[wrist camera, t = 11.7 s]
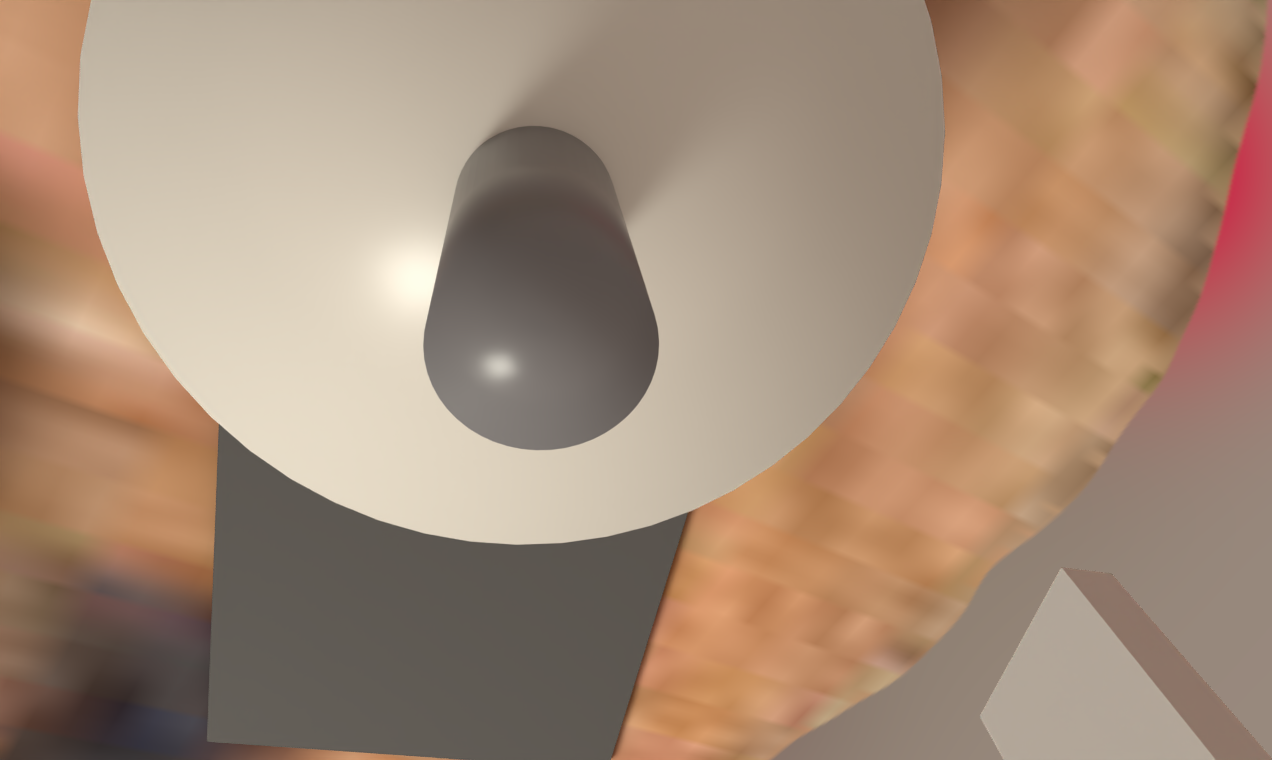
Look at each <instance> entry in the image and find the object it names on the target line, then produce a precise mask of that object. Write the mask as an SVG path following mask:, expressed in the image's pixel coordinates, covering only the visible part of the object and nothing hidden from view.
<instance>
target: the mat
mask: <svg viewBox="0 0 1272 760" xmlns="http://www.w3.org/2000/svg"><path fill="white" fill-rule="evenodd" d="M687 514H688V512H687V513H684V514H681V515H679V516H676V517H673V518H670V519H668V520H665V521H662V522H659V523H657V524H654V525H651V526H648V527H644V528H640V529H636V530H632V531H628V532H624V533H620V534H616V535H612V536H608V537H601V538H594V539H587V540H580V541H573V542H566V543H549V544H521V545H514V544H499V543H485V542H470V541H465V540H459V539H453V538H447V537H442V536H436V535H430V534H425V533H421V532H418V531H414V530H411V529H407V528H404V527H400V526H397V525H393V524H390V523H386V522H383V521H379V520H377V519H374V518H372V517H369V516H367V515H364V514H362V513H359V512H357V511H354V510H352V509H349V508H347V507H345V506H342V505H340V504H337V503H335V502H333V501H331V500H329V499H327V498H325V497H323V496H322V495H320V494H318V493H316V492H314V491H312V490H310V489H309V488H307V487H305V486H303V485H301V484H299V483H297V482H296V481H294V480H292V479H290V478H289V477H287V476H286V475H284V474H283V473H281V472H280V471H279V470H277V469H276V468H274V467H273V466H271V465H270V464H268V463H267V462H266V461H264V460H263V459H261V458H260V457H258V456H257V455H255V454H254V453H252V452H251V451H250V450H248V449H247V448H246V447H245V446H244V445H243V444H242V443H240V442H239V441H238V440H237V439H236V438H235V437H233V436H232V435H231V434H230V433H229V432H228V431H227V430H225V429H224V428H223V427H222V426H221V425H220V424H219V437H218V463H217V490H216V516H215V543H214V569H213V595H212V622H211V648H210V675H209V701H208V728H207V742H220V743H234V744H249V745H263V746H277V747H292V748H306V749H320V750H334V751H349V752H363V753H377V754H392V755H406V756H420V757H435V758H449V759H463V760H611V757H612V754H613V751H614V748H615V744H616V741H617V738H618V735H619V732H620V728H621V725H622V722H623V719H624V716H625V712H626V709H627V706H628V703H629V700H630V696H631V693H632V690H633V687H634V684H635V680H636V677H637V674H638V671H639V668H640V664H641V661H642V658H643V655H644V652H645V648H646V645H647V642H648V639H649V636H650V632H651V629H652V626H653V623H654V620H655V616H656V613H657V610H658V607H659V604H660V600H661V597H662V594H663V591H664V588H665V584H666V581H667V578H668V575H669V572H670V568H671V565H672V562H673V559H674V556H675V552H676V549H677V546H678V543H679V540H680V536H681V533H682V530H683V527H684V524H685V520H686V517H687Z"/></svg>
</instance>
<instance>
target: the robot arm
mask: <svg viewBox="0 0 1272 760" xmlns="http://www.w3.org/2000/svg"><path fill="white" fill-rule="evenodd" d="M980 718H981V720H982V722H983V723H984V725H985V727H986V729H987V731H988V732H989V734H990V736H991V738H992V740H993V741H994V743H995V745H996V747H997V748H998V750H999V752H1000V754H1001V756H1002V758H1003V759H1004V760H1272V758H1271V757H1270V756H1269V755H1268V753H1267V752H1266V751H1265V750H1264V749H1263V748H1262V747H1261V745H1260V744H1259V743H1258V742H1257V741H1256V740H1255V738H1254V737H1253V736H1252V735H1251V734H1250V733H1249V732H1248V730H1247V729H1246V728H1245V727H1244V726H1243V725H1242V723H1241V722H1240V721H1239V720H1238V719H1237V718H1236V717H1235V715H1234V714H1233V713H1232V712H1231V711H1230V710H1229V708H1227V706H1226V705H1225V704H1224V703H1223V702H1222V700H1221V699H1220V698H1219V697H1218V696H1217V695H1216V693H1215V692H1214V691H1213V690H1212V689H1211V688H1210V687H1209V685H1208V684H1207V683H1206V682H1205V681H1204V680H1203V678H1202V677H1201V676H1200V675H1199V674H1198V673H1197V672H1196V670H1195V669H1194V668H1193V667H1192V666H1191V665H1190V663H1189V662H1188V661H1187V660H1186V659H1185V658H1184V657H1183V655H1182V654H1181V653H1180V652H1179V651H1178V650H1177V649H1176V647H1175V646H1174V645H1173V644H1172V643H1171V642H1170V641H1169V639H1168V638H1167V637H1166V636H1165V635H1164V633H1163V632H1162V631H1161V630H1160V629H1159V628H1158V627H1157V625H1156V624H1155V623H1154V622H1153V621H1152V620H1151V619H1150V617H1149V616H1148V615H1147V614H1146V613H1145V612H1144V611H1143V609H1142V608H1141V607H1140V606H1139V605H1138V604H1137V602H1136V601H1135V600H1134V599H1133V598H1132V597H1131V595H1130V594H1129V593H1128V592H1127V591H1126V590H1125V589H1124V587H1123V586H1122V585H1121V584H1120V583H1119V582H1118V580H1117V579H1116V578H1115V577H1114V576H1113V575H1112V574H1110V573H1103V572H1095V571H1087V570H1078V569H1071V568H1063V567H1062V568H1061V569H1060V571H1059V573H1058V575H1057V576H1056V578H1055V580H1054V582H1053V584H1052V585H1051V587H1050V589H1049V591H1048V593H1047V594H1046V596H1045V598H1044V600H1043V602H1042V604H1041V605H1040V607H1039V609H1038V611H1037V613H1036V615H1035V616H1034V618H1033V620H1032V622H1031V624H1030V625H1029V627H1028V629H1027V631H1026V633H1025V635H1024V637H1023V638H1022V640H1021V642H1020V644H1019V646H1018V647H1017V649H1016V651H1015V653H1014V655H1013V657H1012V659H1011V660H1010V662H1009V664H1008V666H1007V668H1006V669H1005V671H1004V673H1003V675H1002V677H1001V678H1000V680H999V682H998V684H997V686H996V688H995V689H994V691H993V693H992V695H991V697H990V699H989V700H988V702H987V704H986V706H985V708H984V709H983V711H982V713H981V715H980Z"/></svg>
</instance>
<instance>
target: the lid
mask: <svg viewBox="0 0 1272 760" xmlns="http://www.w3.org/2000/svg"><path fill="white" fill-rule="evenodd" d="M78 123H79V133H80V143H81V153H82V163H83V174H84V179H85V183H86V187H87V192H88V196H89V200H90V204H91V208H92V212H93V216H94V221H95V225H96V229H97V233H98V235H99V238H100V241H101V243H102V246H103V248H104V251H105V254H106V256H107V259H108V261H109V264H110V266H111V269H112V272H113V274H114V277H115V279H116V282H117V285H118V287H119V289H120V290H121V292H122V294H123V296H124V298H125V300H126V301H127V303H128V305H129V307H130V309H131V311H132V313H133V314H134V316H135V318H136V320H137V322H138V324H139V325H140V327H141V329H142V331H143V333H144V335H145V336H146V337H147V339H148V340H149V342H150V343H151V344H152V346H153V347H154V349H155V350H156V351H157V353H158V354H159V356H160V357H161V358H162V360H163V361H164V363H165V364H166V365H167V367H168V368H169V370H170V371H171V372H172V374H173V375H174V377H175V378H176V379H177V380H178V381H179V382H180V383H181V385H182V386H183V387H184V388H185V389H186V390H187V391H188V392H189V393H190V394H191V396H192V397H193V398H194V399H195V400H196V401H197V402H198V403H199V404H200V405H201V407H202V408H203V409H204V410H205V411H206V412H207V413H208V414H209V415H210V416H211V417H212V418H213V419H214V420H215V421H216V422H217V423H219V424H220V425H221V426H222V427H223V428H224V429H225V430H227V431H228V432H229V433H230V434H231V435H232V436H233V437H235V438H236V439H237V440H238V441H239V442H240V443H242V444H243V445H244V446H245V447H246V448H247V449H248V450H250V451H251V452H252V453H254V454H255V455H257V456H258V457H260V458H261V459H263V460H264V461H266V462H267V463H268V464H270V465H271V466H273V467H274V468H276V469H277V470H279V471H280V472H281V473H283V474H284V475H286V476H287V477H289V478H290V479H292V480H294V481H296V482H297V483H299V484H301V485H303V486H305V487H307V488H309V489H310V490H312V491H314V492H316V493H318V494H320V495H322V496H323V497H325V498H327V499H329V500H331V501H333V502H335V503H337V504H340V505H342V506H345V507H347V508H349V509H352V510H354V511H357V512H359V513H362V514H364V515H367V516H369V517H372V518H374V519H377V520H379V521H383V522H386V523H390V524H393V525H397V526H400V527H404V528H407V529H411V530H414V531H418V532H421V533H425V534H430V535H436V536H442V537H447V538H453V539H459V540H465V541H470V542H485V543H499V544H514V545H521V544H549V543H566V542H573V541H580V540H587V539H594V538H601V537H608V536H612V535H616V534H620V533H624V532H628V531H632V530H636V529H640V528H644V527H648V526H651V525H654V524H657V523H659V522H662V521H665V520H668V519H670V518H673V517H676V516H679V515H681V514H684V513H687V512H689V511H692V510H694V509H696V508H699V507H701V506H703V505H705V504H707V503H709V502H711V501H713V500H715V499H717V498H719V497H721V496H723V495H725V494H727V493H729V492H731V491H733V490H735V489H736V488H738V487H739V486H741V485H743V484H744V483H746V482H747V481H749V480H750V479H752V478H754V477H755V476H757V475H758V474H760V473H761V472H763V471H765V470H766V469H768V468H769V467H771V466H772V465H774V464H775V463H776V462H777V461H779V460H780V459H781V458H782V457H784V456H785V455H786V454H787V453H789V452H790V451H791V450H792V449H794V448H795V447H796V446H797V445H799V444H800V443H801V442H802V441H804V440H805V439H806V438H807V437H808V436H809V435H810V434H811V433H812V432H813V431H814V430H815V429H816V428H817V427H818V426H819V425H820V424H821V423H822V422H823V421H824V420H825V419H826V418H827V417H828V416H829V415H830V414H831V413H832V412H833V411H834V410H835V409H836V408H837V407H838V406H839V405H840V404H841V403H842V402H843V400H844V399H845V398H846V397H847V395H848V394H849V393H850V392H851V390H852V389H853V388H854V387H855V385H856V384H857V383H858V382H859V380H860V379H861V378H862V376H863V375H864V374H865V373H866V371H867V370H868V369H869V368H870V366H871V364H872V363H873V361H874V360H875V358H876V356H877V355H878V353H879V352H880V350H881V348H882V347H883V345H884V344H885V342H886V340H887V339H888V337H889V335H890V334H891V332H892V331H893V329H894V327H895V325H896V323H897V321H898V319H899V317H900V315H901V313H902V310H903V308H904V306H905V304H906V302H907V300H908V298H909V296H910V293H911V291H912V289H913V287H914V285H915V283H916V280H917V277H918V274H919V271H920V268H921V265H922V261H923V258H924V255H925V252H926V249H927V246H928V243H929V240H930V237H931V234H932V229H933V224H934V218H935V213H936V208H937V203H938V198H939V193H940V188H941V181H942V167H943V152H944V138H945V123H944V106H943V89H942V75H941V70H940V64H939V59H938V54H937V49H936V44H935V38H934V33H933V28H932V23H931V19H930V16H929V13H928V10H927V7H926V4H925V1H924V0H91V4H90V9H89V14H88V19H87V25H86V30H85V35H84V40H83V45H82V50H81V56H80V79H79V102H78Z"/></svg>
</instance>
